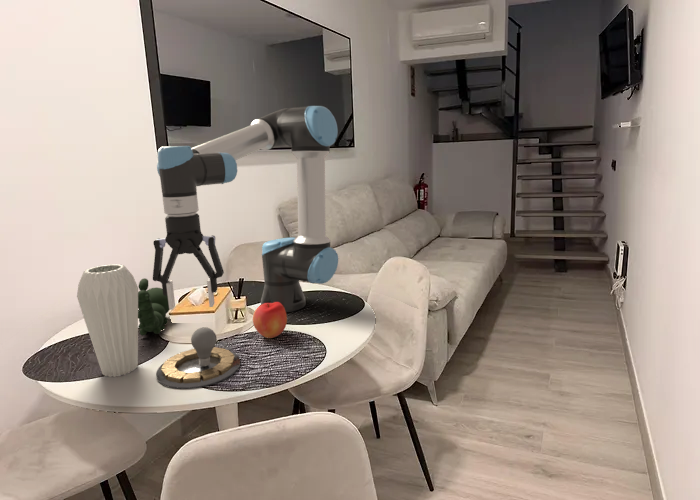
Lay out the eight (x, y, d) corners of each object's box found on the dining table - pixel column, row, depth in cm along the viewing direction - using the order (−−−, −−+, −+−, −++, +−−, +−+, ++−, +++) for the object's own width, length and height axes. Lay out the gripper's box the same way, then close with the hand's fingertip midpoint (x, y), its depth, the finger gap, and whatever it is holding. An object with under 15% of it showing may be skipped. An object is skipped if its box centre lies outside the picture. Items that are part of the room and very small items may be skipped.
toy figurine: (166, 345, 137) (177, 309, 160) (157, 284, 131) (169, 256, 155) (132, 349, 135) (147, 312, 159) (121, 288, 129) (138, 258, 153)
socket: (168, 354, 127) (167, 348, 127) (243, 348, 129) (243, 342, 129) (145, 392, 108) (144, 385, 108) (235, 384, 110) (234, 377, 110)
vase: (87, 387, 111) (69, 279, 105) (92, 364, 123) (76, 266, 117) (149, 375, 116) (134, 271, 110) (148, 353, 128) (135, 259, 122)
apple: (287, 328, 142) (285, 296, 140) (288, 341, 133) (286, 307, 131) (254, 331, 141) (251, 299, 138) (253, 344, 132) (250, 310, 129)
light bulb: (210, 372, 115) (209, 334, 113) (187, 369, 116) (185, 331, 114) (221, 361, 121) (220, 324, 119) (199, 358, 122) (198, 322, 120)
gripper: (128, 218, 105) (141, 315, 110) (226, 214, 107) (235, 308, 112) (138, 213, 112) (151, 304, 118) (231, 209, 115) (239, 298, 120)
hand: (192, 306), depth 115 cm, fingers open, 9 cm apart
